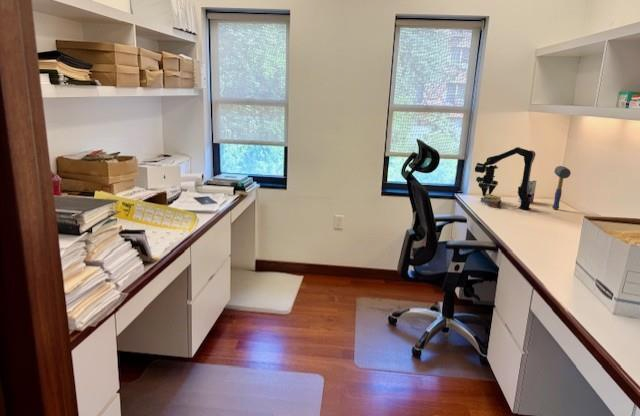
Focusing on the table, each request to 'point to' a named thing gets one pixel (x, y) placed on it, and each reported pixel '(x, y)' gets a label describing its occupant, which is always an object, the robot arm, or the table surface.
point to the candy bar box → (532, 189)
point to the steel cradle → (485, 200)
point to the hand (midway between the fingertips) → (486, 195)
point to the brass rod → (491, 196)
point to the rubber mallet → (560, 184)
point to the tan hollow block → (494, 203)
